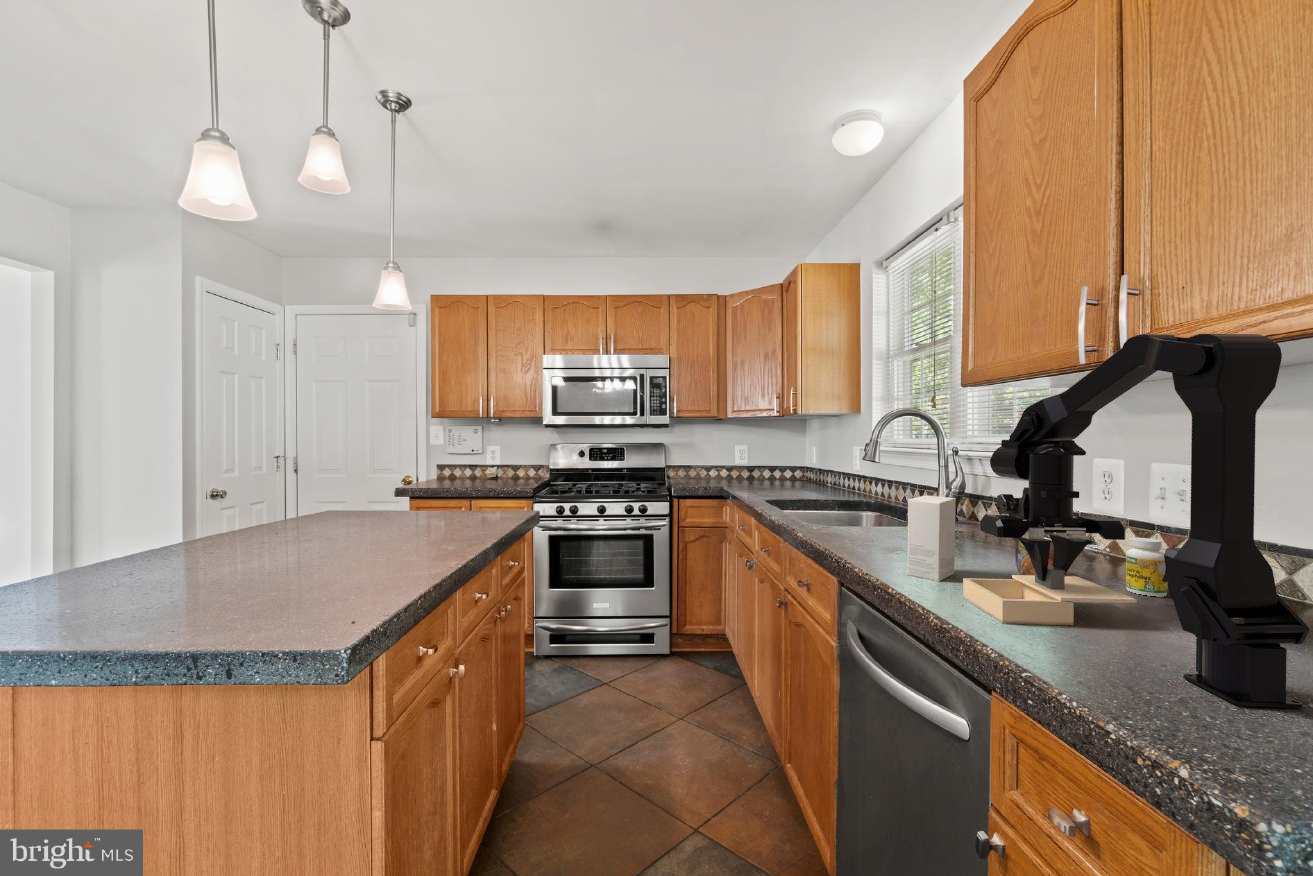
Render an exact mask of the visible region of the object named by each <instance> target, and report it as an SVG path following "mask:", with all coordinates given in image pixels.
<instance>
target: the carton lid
mask: <svg viewBox="0 0 1313 876" xmlns="http://www.w3.org/2000/svg"><path fill="white" fill-rule="evenodd" d="M1011 578H1012V579H1015V580H1018V581H1020V582H1022V583H1024V584H1026V585H1028V586H1030V587H1032V588H1035V589H1037V590H1039V591H1041V592H1043V593H1045V594H1047V595H1049V596H1051V597H1054V598H1056V599H1058V600H1060V601H1072V602H1082V603H1083V602H1084V603H1085V602H1087V603H1095V602H1096V603H1123V604H1125V603H1128V604H1131V603H1132V604H1136V603H1137V598H1133V597H1132V596H1129V595H1126V594H1123V593H1122V592H1121V593H1120V592H1119V591H1118V592H1117V591H1115V590H1113V589H1110V588H1107V587H1105V586H1102V585H1100V584H1098V583H1095V582H1092V581H1089V580H1087V579H1085V578H1081V577H1079V576H1075V575H1066V574H1065V570H1062V569H1059V568H1057V567H1054V566H1052V565H1049V564H1048V570H1047V575H1046V579H1045V581H1041V580H1039V579H1038V577H1037V575H1036V572H1035V575H1021V574H1011Z"/></svg>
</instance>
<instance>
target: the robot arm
mask: <svg viewBox="0 0 1313 876" xmlns="http://www.w3.org/2000/svg"><path fill="white" fill-rule="evenodd" d="M1282 356H1283V354H1282V348H1281V347H1280V345H1279V343H1278V342H1277V341H1276V342H1275V341H1274V340H1272V339H1271V338H1269V337H1267V336H1265V335H1262V334H1257V333H1256V334H1255V333H1254V334H1253V333H1252V334H1251V333H1249V334H1248V333H1199V334H1195V335H1191V336H1190V337H1182V336H1175V335H1173V334H1168V333H1166V334H1165V333H1164V334H1162V333H1160V334H1159V333H1155V334H1154V333H1153V334H1151V333H1150V334H1149V333H1148V334H1147V333H1141V334H1137V335H1134V336H1132V337H1129V338H1128V339H1126V341H1125V342H1124V343H1123V345H1122V347H1121V348H1120V349H1119V350H1117V351H1116V352H1115V353H1112V355H1111V356H1109V357H1108V358H1107V359H1106V360H1104V361H1103V362H1101V363H1100V364H1099V365H1097V366H1096V367H1095V368H1094V369H1092V370H1091V371H1090V372H1088V373H1087V374H1086V375H1084V376H1083V377H1082V378H1080V379H1079V380H1078V381H1077V382H1075V383H1074V384H1072V385H1071V386H1070V387H1069V388H1067V389H1066V390H1064V391H1062V392H1061V393H1058V394H1054V395H1051V396H1048V397H1044V398H1043V399H1040V400H1038V401H1036V402H1034V403H1032V404H1030V405H1028V406H1026V408H1025V409H1024V410H1023V412H1022V413H1021V417H1020V419H1019V420H1018V422H1017V424H1016V426H1015V428H1014V430H1013V431H1012V433H1010V435H1009V439H1001V441H1000V442H1001V446H999V447H997V448H996V449H994V450H993V451H994V452H993V453H992V455H991V457H990V458H989V466H990V468H991V470H992V471H993V473H994V474H995V475H996V476H998V477H1001V478H1006V479H1015V480H1020V481H1021V480H1023V481H1028V487H1023V489H1022V496H1021V497H1015V496H1014V495H1013V494H1012V493H1001V494H998V495H997V496H996V509H997V513H998V514H985V515H984V516H983V517H982V518H981V520H980V523H979V524H980V525H979V527H980V528H979V530H980V532H982V533H985V534H989V535H991V536H993V537H997V538H1003V539H1005V538H1006V539H1007V538H1009V539H1010V538H1011V539H1016V540H1017V539H1018V540H1019V541H1020V542H1021V543H1022V544H1023V545H1024V547H1025V549H1026V551H1027V553H1028V555H1029V557H1030V560H1031V562H1032V565H1033V567H1034V570H1035V572H1036V575H1037V577H1038V579H1039V580H1041V581H1045V579H1046V575H1047V570H1048V561H1049V552H1050V544H1051V543H1052V544H1053V546H1054V554H1053V566H1054V567H1057V568H1059V569H1062V570H1065V575H1066V574H1067V573H1068V571H1069V570H1070V568H1071V567H1072V565H1073V564H1074V562H1075V560H1076V559H1077V557H1078V556H1079V555H1080V554H1081V553H1082V552H1083V551H1084V549H1085V548H1086V546H1093V540H1090V539H1087V534H1098V535H1099V536H1100V537H1101V538H1102V539H1103V540H1108V541H1109V540H1111V541H1112V540H1113V541H1115V540H1116V541H1125V540H1126V533H1127V532H1126V530H1127V529H1126V527H1125V525H1124V524H1123V523H1122V522H1121V520H1118V519H1117V520H1116V519H1113V518H1107V517H1104V516H1099V515H1098V516H1097V515H1096V516H1093V515H1092V516H1091V515H1090V516H1089V515H1088V516H1087V515H1081V516H1080V515H1079V516H1078V515H1077V516H1075V517H1074V499H1080V491H1077V490H1074V468H1075V467H1074V460H1075V458H1074V457H1075V456H1077V457H1078V456H1080V457H1081V456H1086V455H1087V452H1086V450H1085V449H1084V448H1082V446H1080V445H1078V444H1077V443H1076V442H1075V439H1077V438H1078V437H1079V436H1080V435H1081V434H1082V433H1083V432H1085V430H1086V429H1087V428H1089V427H1090V425H1091V424H1092V421H1093V417H1094V415H1095V414H1096V413H1097V412H1098V411H1099V410H1102V409H1103V408H1104V407H1106V406H1107V405H1109V404H1110V403H1111V402H1113V401H1114V400H1116V399H1118V398H1119V397H1121V396H1122V395H1123V394H1125V393H1126V392H1128V391H1130V390H1131V389H1132V388H1134V387H1136V386H1137V385H1138V384H1140V383H1141V382H1143V381H1145V379H1147V378H1149V377H1151V376H1152V375H1153V374H1155V373H1156V372H1158V371H1160V372H1167V373H1171V375H1172V380H1173V382H1172V383H1173V386H1174V391H1175V392H1176V394H1177V395H1178V396H1179V398H1180V400H1181V401H1182V402H1183V404H1184V405H1185V406H1186V407H1187V409H1188V411H1189V412H1190V414H1191V438H1190V439H1191V443H1190V444H1191V445H1190V446H1191V448H1190V452H1191V456H1190V459H1191V460H1190V462H1191V464H1190V517H1189V518H1190V519H1189V520H1190V521H1189V522H1190V525H1189V536H1188V538H1187V540H1186V541H1185V542H1184V543H1183V545H1182V546H1181V547H1167V548H1165V551H1164V552H1163V553H1164V560H1165V568H1166V569H1165V575H1164V577H1163V579H1162V581H1163V582H1167V593H1168V595H1169V597H1170V599H1171V601H1172V602H1173V606H1174V607H1175V611H1176V614H1177V617H1178V620H1179V623H1180V626H1181V628H1182V630H1183V631H1185V632H1186V633H1187V632H1188V633H1190V634H1193V635H1194V636H1195V639H1196V640H1195V642H1196V643H1195V672H1196V673H1183V676H1182V677H1183V679H1184V680H1186V681H1188V682H1190V683H1192V684H1194V685H1196V686H1198V687H1200V688H1202V689H1204V690H1206V691H1208V692H1210V693H1212V694H1214V695H1215V696H1218V697H1219V698H1221V699H1223V700H1225V701H1228V702H1229V703H1231V704H1233V705H1235V706H1239V707H1240V706H1241V707H1242V706H1243V707H1258V708H1259V707H1260V708H1261V707H1264V708H1285V709H1303V707H1304V704H1303V702H1301V701H1300V700H1299V701H1298V700H1296V699H1294V698H1292V697H1290V696H1289V695H1288V696H1287V663H1288V662H1287V656H1288V655H1287V654H1288V653H1287V652H1288V649H1287V648H1286V647H1285V646H1283V647H1282V646H1281V645H1283V644H1285V645H1286V644H1293V645H1302V644H1303V643H1304V641H1305V640H1306V638H1307V637H1308V634H1309V633H1310V630H1311V629H1310V627H1309V626H1308V625H1307V624H1306V622H1304V621H1303V620H1302V619H1301V617H1300V616H1299V615H1298V614H1297V613H1296V612H1295V611H1294V610H1293V609H1292V608H1291V607H1290V606H1289V605H1288V604H1287V603H1286V601H1284V599H1283V598H1282V597H1281V596H1280V595H1279V594H1278V592H1277V587H1276V581H1275V575H1274V571H1273V567H1272V566H1271V564H1270V562H1268V561H1267V559H1266V557H1265V556H1264V554H1263V553H1262V552H1261V550H1260V549H1259V548H1258V546H1257V545H1256V543H1255V539H1254V538H1255V537H1254V536H1255V483H1256V482H1255V480H1256V479H1255V477H1256V425H1257V424H1256V423H1257V421H1256V419H1257V418H1256V417H1257V414H1258V413H1257V412H1258V411H1259V409H1260V408H1261V406H1262V405H1263V404H1264V402H1265V401H1266V400H1267V399H1268V397H1269V396H1270V395H1271V393H1273V391H1274V389H1275V388H1276V385H1277V382H1278V381H1277V380H1278V376H1279V372H1280V367H1281V364H1282ZM1045 533H1047V534H1048V533H1049V535H1048V536H1049V538H1050V540H1049V539H1046V538H1045ZM1232 619H1233V620H1236V619H1237V620H1239V619H1241V620H1242V619H1243V621H1244V622H1241V623H1240V622H1239V623H1238V622H1237V623H1235V622H1234V621H1233V620H1232Z"/></svg>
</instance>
